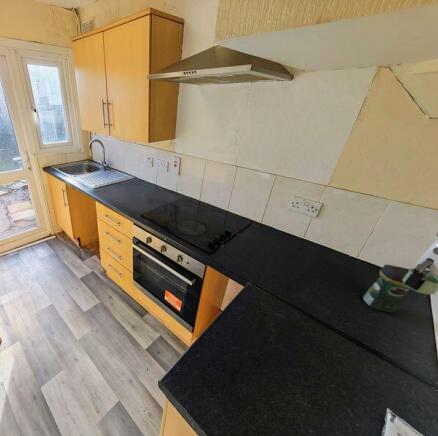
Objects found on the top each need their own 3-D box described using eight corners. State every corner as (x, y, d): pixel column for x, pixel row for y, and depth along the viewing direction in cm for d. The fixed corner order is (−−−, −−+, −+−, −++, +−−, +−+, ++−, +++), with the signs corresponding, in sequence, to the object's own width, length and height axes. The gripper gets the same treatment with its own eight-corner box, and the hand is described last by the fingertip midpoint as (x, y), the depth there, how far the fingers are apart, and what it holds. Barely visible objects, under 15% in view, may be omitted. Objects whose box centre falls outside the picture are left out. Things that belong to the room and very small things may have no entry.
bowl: (410, 277, 76) (418, 267, 74) (439, 293, 70) (449, 282, 68) (396, 281, 74) (404, 270, 72) (424, 297, 68) (434, 286, 66)
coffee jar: (386, 301, 93) (413, 266, 85) (397, 316, 87) (428, 279, 78) (358, 294, 96) (381, 259, 87) (367, 308, 89) (393, 272, 81)
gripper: (458, 249, 58) (416, 298, 66) (496, 241, 62) (452, 289, 70) (420, 234, 64) (386, 281, 72) (457, 228, 69) (420, 273, 77)
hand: (418, 284), depth 71 cm, fingers closed on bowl, 7 cm apart
